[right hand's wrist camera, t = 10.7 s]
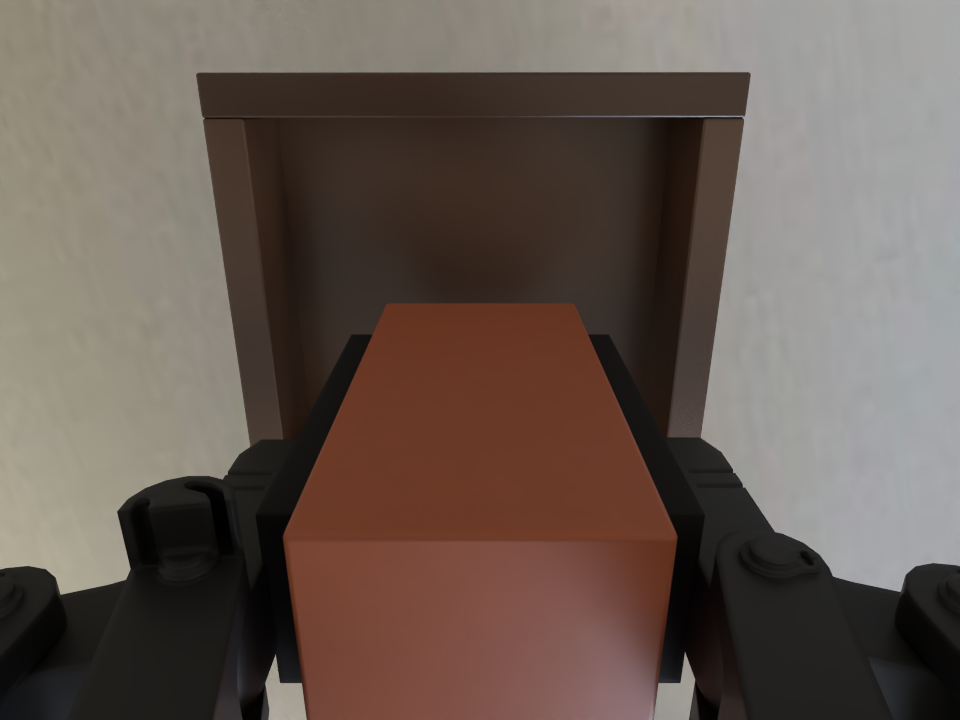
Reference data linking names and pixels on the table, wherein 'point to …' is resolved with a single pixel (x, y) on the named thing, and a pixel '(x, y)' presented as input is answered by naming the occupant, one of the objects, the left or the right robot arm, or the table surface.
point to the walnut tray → (472, 214)
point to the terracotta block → (480, 530)
